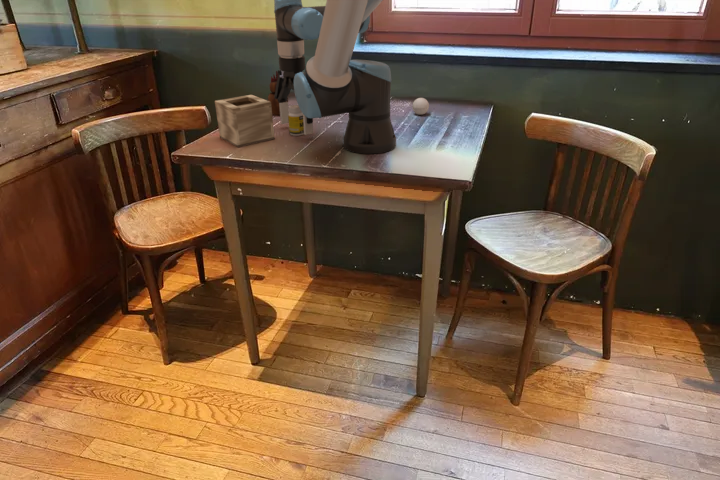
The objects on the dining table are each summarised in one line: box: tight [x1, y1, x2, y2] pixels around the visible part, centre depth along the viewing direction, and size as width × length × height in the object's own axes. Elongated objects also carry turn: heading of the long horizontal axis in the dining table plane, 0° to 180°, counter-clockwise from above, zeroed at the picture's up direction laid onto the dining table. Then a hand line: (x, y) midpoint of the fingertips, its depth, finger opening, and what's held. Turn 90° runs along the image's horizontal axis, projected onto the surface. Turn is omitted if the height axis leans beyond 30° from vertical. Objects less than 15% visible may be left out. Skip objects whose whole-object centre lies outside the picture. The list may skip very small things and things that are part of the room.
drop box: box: [214, 94, 275, 148], centre depth 152 cm, size 12×12×11 cm
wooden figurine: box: [267, 70, 289, 116], centre depth 174 cm, size 7×6×15 cm
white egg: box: [411, 97, 430, 116], centre depth 173 cm, size 8×6×6 cm
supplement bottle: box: [288, 104, 305, 137], centre depth 156 cm, size 5×5×8 cm
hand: (296, 128), depth 157 cm, fingers open, 13 cm apart
